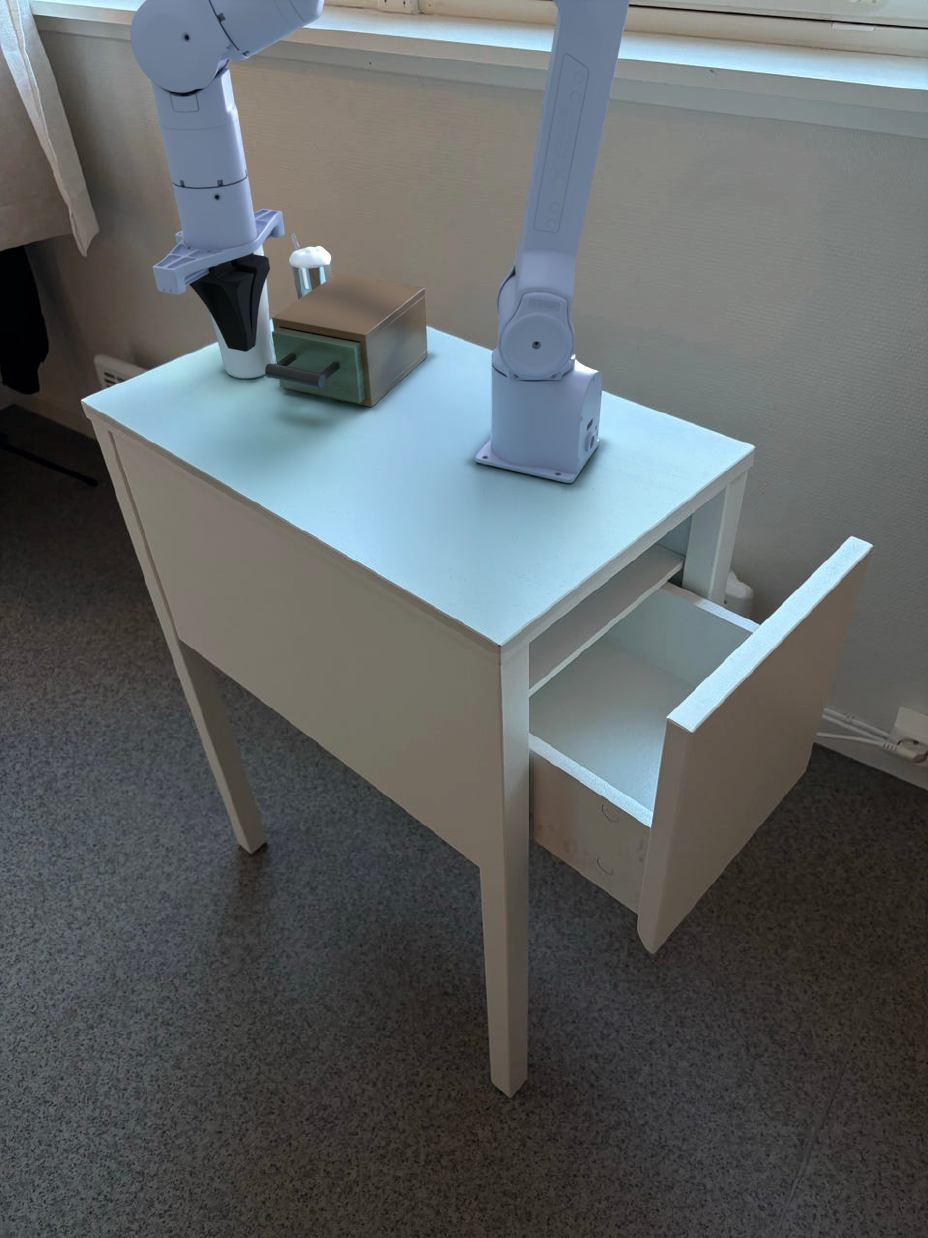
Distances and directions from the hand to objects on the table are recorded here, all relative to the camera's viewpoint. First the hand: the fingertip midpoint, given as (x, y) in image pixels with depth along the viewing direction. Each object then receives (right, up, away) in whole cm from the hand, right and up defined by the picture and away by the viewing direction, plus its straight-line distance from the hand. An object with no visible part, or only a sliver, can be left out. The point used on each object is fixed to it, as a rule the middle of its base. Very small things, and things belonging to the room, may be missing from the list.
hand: (241, 346), depth 79 cm
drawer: (+6, +1, +16) cm, 17 cm away
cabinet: (+8, +3, +19) cm, 21 cm away
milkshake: (+2, +10, +28) cm, 30 cm away
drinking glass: (-4, +3, +20) cm, 21 cm away
